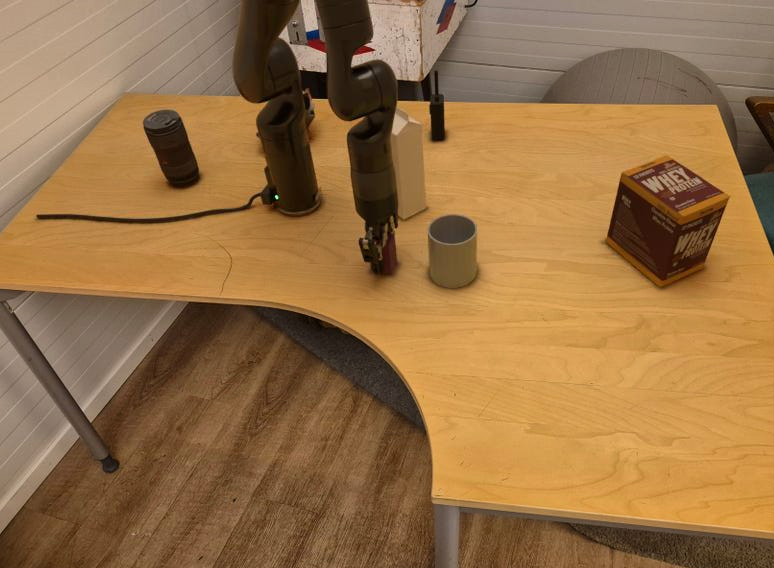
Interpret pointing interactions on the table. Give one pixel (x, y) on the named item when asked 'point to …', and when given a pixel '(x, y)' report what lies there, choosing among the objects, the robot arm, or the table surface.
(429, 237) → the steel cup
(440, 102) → the walkie-talkie
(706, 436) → the table surface
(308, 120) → the lucky cat figurine
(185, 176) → the camera lens
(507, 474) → the table surface
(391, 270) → the juice box
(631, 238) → the supplement box
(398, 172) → the milk
